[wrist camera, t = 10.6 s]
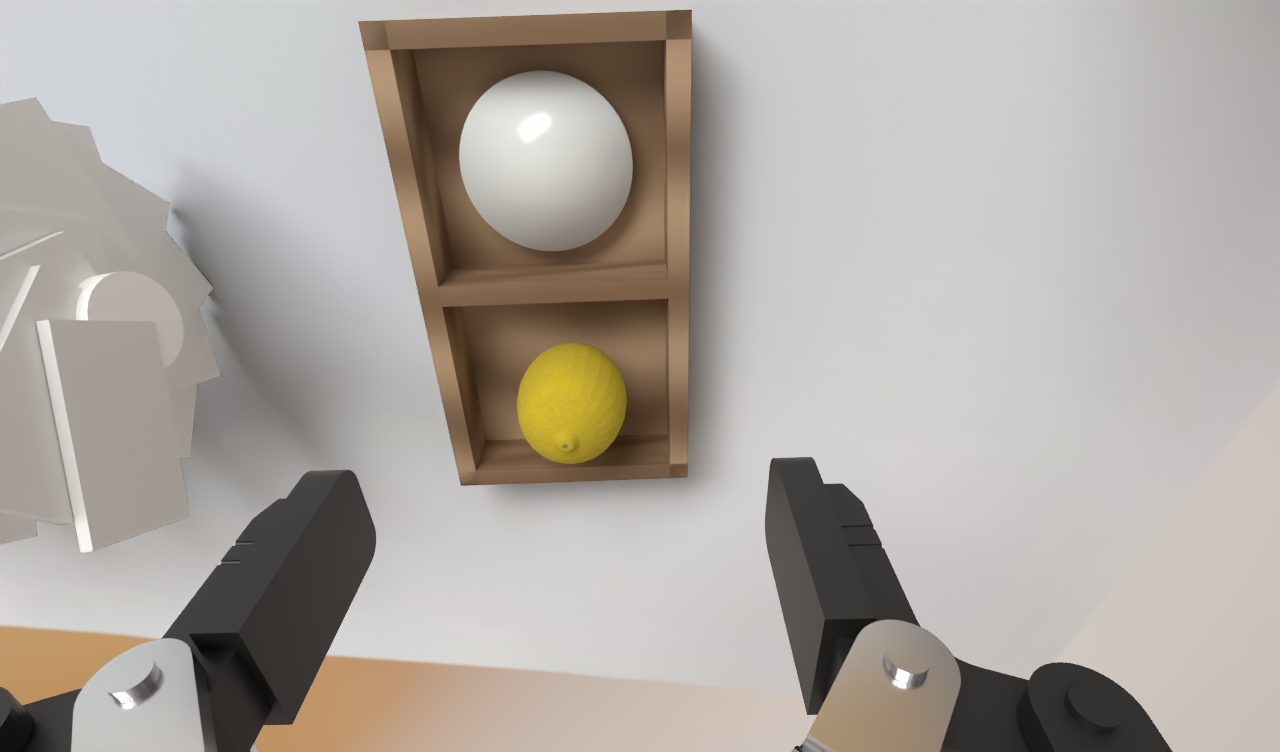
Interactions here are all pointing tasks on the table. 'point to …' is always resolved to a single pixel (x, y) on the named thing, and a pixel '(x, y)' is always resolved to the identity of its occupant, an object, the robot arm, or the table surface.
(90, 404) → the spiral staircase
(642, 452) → the divided wooden tray
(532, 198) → the white egg
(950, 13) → the table surface
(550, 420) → the lemon
